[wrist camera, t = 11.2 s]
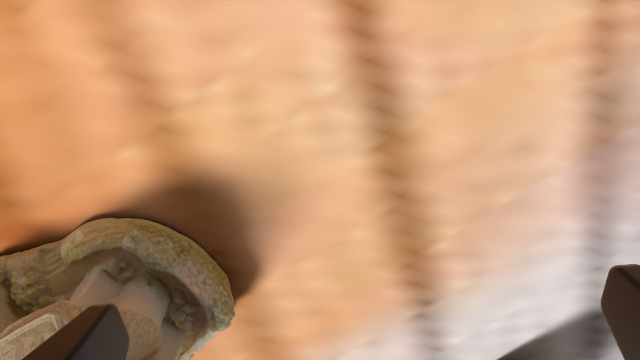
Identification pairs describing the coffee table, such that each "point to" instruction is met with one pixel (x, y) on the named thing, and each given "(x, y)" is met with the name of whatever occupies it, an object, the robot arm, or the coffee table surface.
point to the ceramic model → (116, 289)
